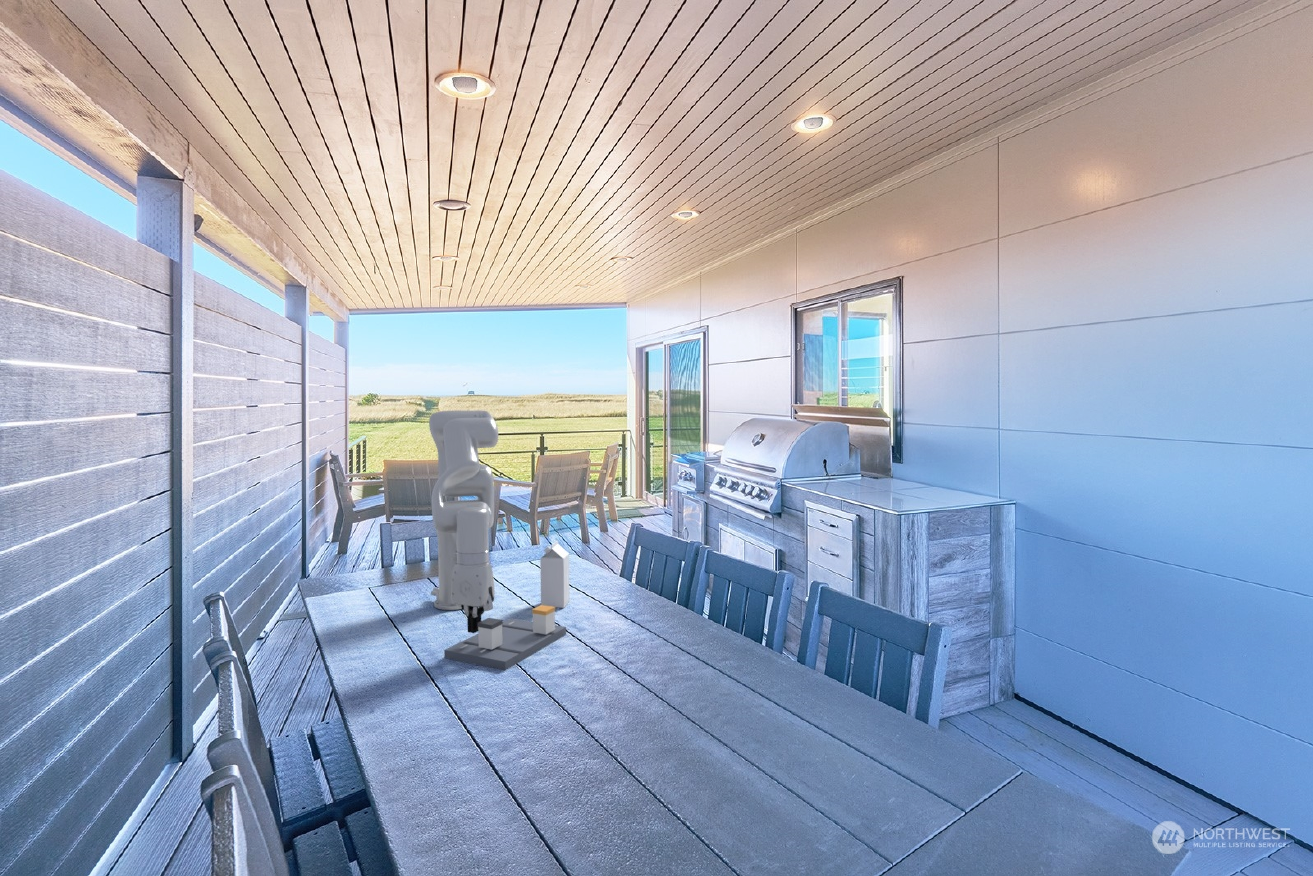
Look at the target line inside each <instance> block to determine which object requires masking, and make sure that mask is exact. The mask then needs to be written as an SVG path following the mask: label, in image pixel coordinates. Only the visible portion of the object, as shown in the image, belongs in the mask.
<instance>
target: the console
mask: <svg viewBox="0 0 1313 876" xmlns="http://www.w3.org/2000/svg"><path fill="white" fill-rule="evenodd" d="M566 635H567V627H566V626H563V625H557V624H556V625H555V630H553V631H552V632H550V633H548V634H540V633H534V632H533V620H532V621H531V620H524V619H518V618H513V617H510V618H508V619H505V620H503V624H502V645H500V646H498V647H496V648H494V649H492V650H491V649H486V648H481V647H479V636H478V633H477V634H475V635H472V636H470V637H468V638H466V639H464V640H461V641H460V642H458V643H456V644H454V645H452V646H449V647H448V648H445V649H444V650H443V651H444V659H446V660H447V659H448V660H453V661H458V662H463V663H467V664H473V665H477V666H478V665H479V666H483V667H487V668H492V669H498V670H504V671H507V670H509V669H510V668H512V667H513V666H515V665H517V664H518V663H520V662H522V661H524V660H525V659H527V658H529V657H530V656H532V655H534V654H536V653H537V652H539V651H541V650H542V649H544V648H546V647H547V646H549V645H551V644H553V643H554V642H555V641H557V640H559V639H561V638H562V637H564V636H566Z"/></svg>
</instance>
